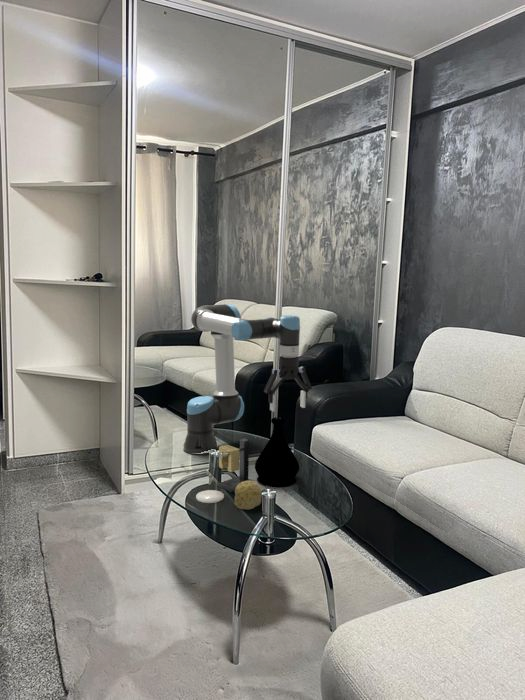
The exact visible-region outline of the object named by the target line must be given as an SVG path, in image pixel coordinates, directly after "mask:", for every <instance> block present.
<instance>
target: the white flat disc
mask: <svg viewBox="0 0 525 700" xmlns="http://www.w3.org/2000/svg"><path fill="white" fill-rule="evenodd" d="M195 499H196V501H198V502H200V503H202V504H214V503H219V502H221V501H223V500H224V499H225V494H224V493H223V492H222V491H219V490H214V489H207V490H202V491H199V492H198V493H197V494H196V495H195Z"/></svg>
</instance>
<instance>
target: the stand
mask: <svg viewBox="0 0 525 700" xmlns="http://www.w3.org/2000/svg"><path fill="white" fill-rule="evenodd" d="M249 443H250V440H249V439H247V438H241V439H239V448H238V449H239V475H237V476H235V477H232V478H230V479H226V480H223V481H221V482H218V483H217V487H219V488H221V489H223V490H225V491H228V492H230V493H235V489H236V487H237V485H238V484H239V483H241V482H243V481H248V480H250V481H254V482H256V481H255V480H253V479H250V478H249V471H250V470H249V469H250V468H249V463H250V462H249V459H250V457H249V455H250V450H249V449H250V444H249ZM228 455H229V454H226V453H220V454H219V453H218V458H219V457H220V458H221V459H222V458H224V457H225V456H228Z"/></svg>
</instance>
